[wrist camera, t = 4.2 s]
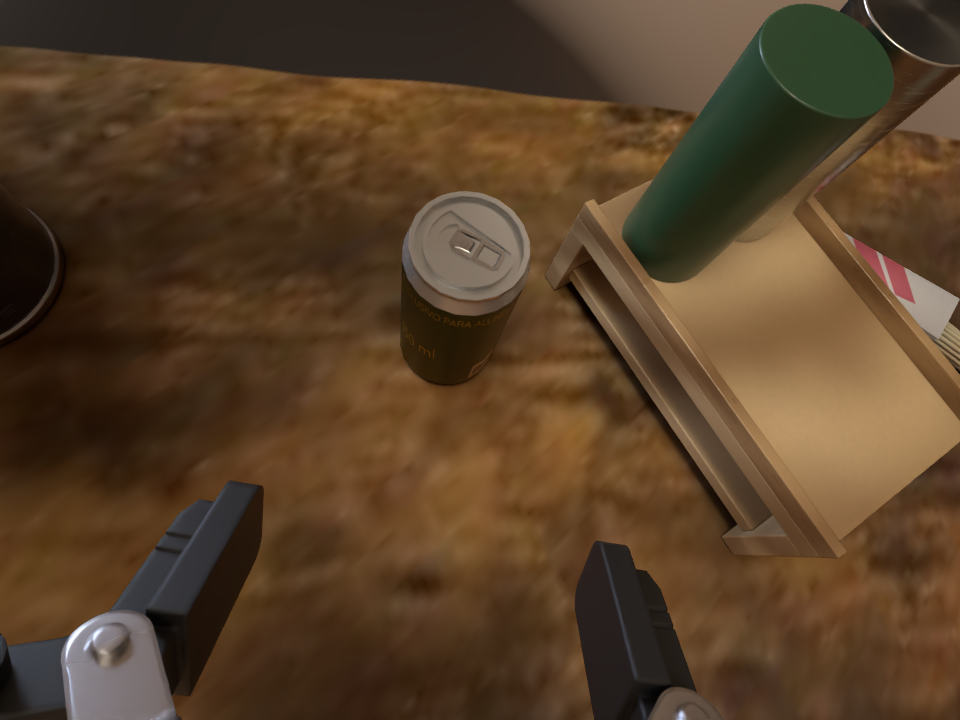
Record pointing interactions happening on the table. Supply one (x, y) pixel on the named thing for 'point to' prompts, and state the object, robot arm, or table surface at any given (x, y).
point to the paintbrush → (919, 301)
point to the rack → (781, 281)
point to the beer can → (459, 283)
